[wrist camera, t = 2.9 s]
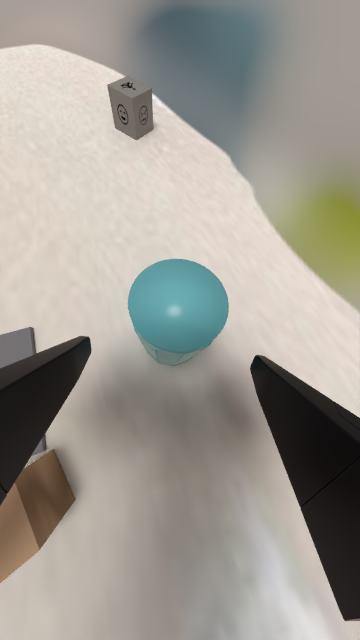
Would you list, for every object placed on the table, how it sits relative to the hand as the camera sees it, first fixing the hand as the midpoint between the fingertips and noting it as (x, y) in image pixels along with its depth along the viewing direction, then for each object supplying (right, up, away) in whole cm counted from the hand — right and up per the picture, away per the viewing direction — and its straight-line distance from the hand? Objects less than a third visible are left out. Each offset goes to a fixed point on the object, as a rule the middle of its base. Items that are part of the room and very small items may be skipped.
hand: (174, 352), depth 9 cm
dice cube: (-8, +38, +23) cm, 45 cm away
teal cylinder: (-1, 0, +10) cm, 10 cm away
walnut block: (-12, -13, +5) cm, 18 cm away
